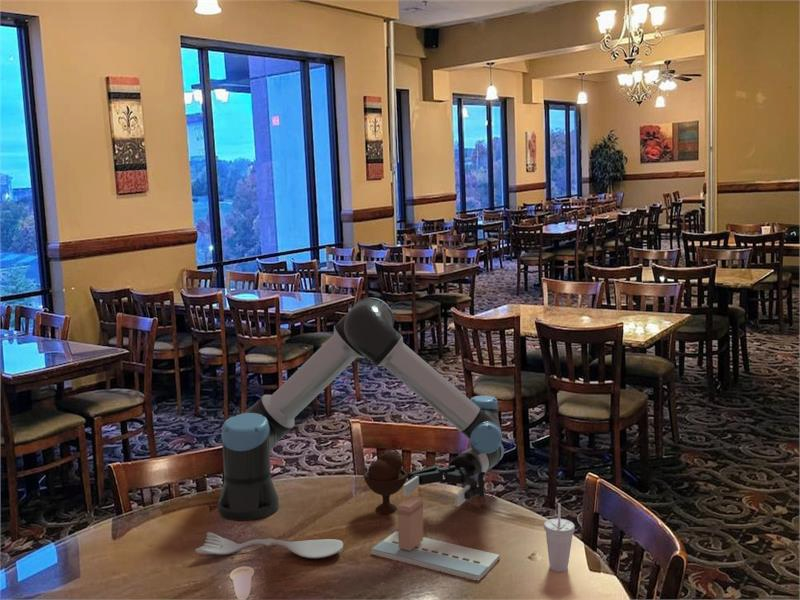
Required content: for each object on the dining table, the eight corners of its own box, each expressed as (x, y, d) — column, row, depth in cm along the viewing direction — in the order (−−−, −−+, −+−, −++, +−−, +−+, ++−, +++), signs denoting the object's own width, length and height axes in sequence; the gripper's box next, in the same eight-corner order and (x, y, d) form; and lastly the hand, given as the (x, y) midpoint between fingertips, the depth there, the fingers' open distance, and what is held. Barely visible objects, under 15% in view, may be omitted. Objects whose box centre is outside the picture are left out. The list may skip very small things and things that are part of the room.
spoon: (207, 544, 183) (206, 530, 182) (345, 546, 181) (345, 531, 180) (195, 562, 174) (194, 547, 173) (340, 564, 172) (340, 549, 171)
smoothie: (572, 561, 171) (573, 499, 169) (575, 575, 165) (577, 511, 163) (542, 560, 172) (542, 498, 170) (544, 574, 166) (545, 510, 164)
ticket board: (371, 554, 176) (371, 548, 176) (396, 534, 185) (396, 530, 185) (478, 581, 163) (478, 575, 163) (499, 559, 173) (499, 554, 172)
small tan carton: (398, 548, 175) (397, 504, 174) (411, 537, 180) (410, 495, 179) (410, 551, 174) (409, 507, 172) (423, 540, 179) (423, 497, 178)
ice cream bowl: (381, 498, 208) (380, 442, 205) (416, 507, 201) (415, 450, 199) (355, 511, 199) (354, 454, 197) (391, 522, 193) (390, 462, 190)
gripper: (515, 488, 196) (479, 521, 178) (425, 473, 208) (384, 501, 190) (514, 459, 195) (479, 489, 177) (425, 445, 207) (383, 471, 189)
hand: (430, 495), depth 183 cm, fingers open, 13 cm apart
